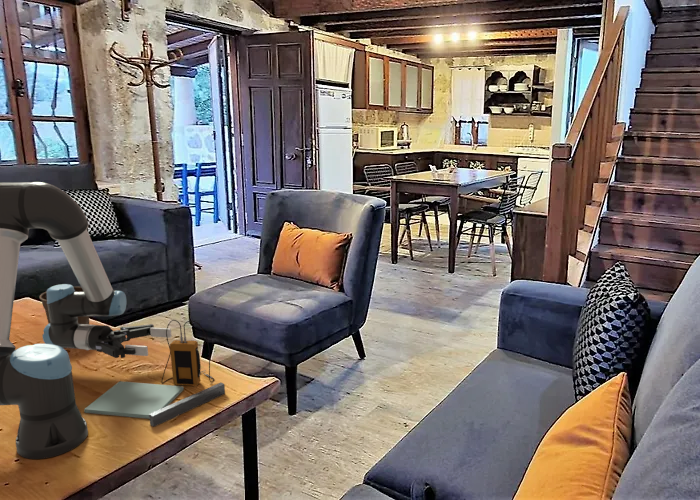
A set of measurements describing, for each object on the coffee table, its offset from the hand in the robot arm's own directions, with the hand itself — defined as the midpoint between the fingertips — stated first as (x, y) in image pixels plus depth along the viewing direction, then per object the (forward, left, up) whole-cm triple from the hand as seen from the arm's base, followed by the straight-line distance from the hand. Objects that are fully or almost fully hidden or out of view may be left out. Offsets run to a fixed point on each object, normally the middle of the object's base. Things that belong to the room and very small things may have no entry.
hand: (159, 341), depth 161 cm
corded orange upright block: (0, -9, -11) cm, 15 cm away
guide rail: (-17, -17, -11) cm, 26 cm away
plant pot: (+24, +49, -11) cm, 55 cm away
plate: (-15, 0, -11) cm, 19 cm away
